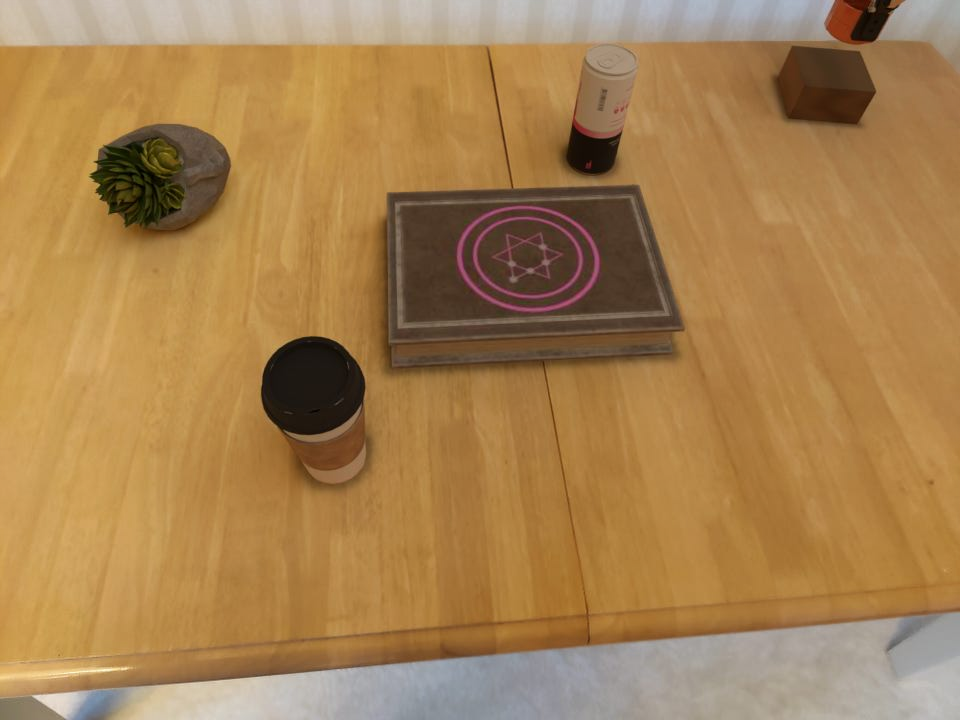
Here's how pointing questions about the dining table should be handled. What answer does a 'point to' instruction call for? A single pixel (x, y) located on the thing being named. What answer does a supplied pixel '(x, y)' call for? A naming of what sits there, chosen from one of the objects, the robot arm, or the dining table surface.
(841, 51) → the stand
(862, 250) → the dining table surface
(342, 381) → the coffee cup
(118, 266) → the dining table surface
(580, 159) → the beverage can
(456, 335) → the book
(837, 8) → the bowl
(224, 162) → the potted plant
